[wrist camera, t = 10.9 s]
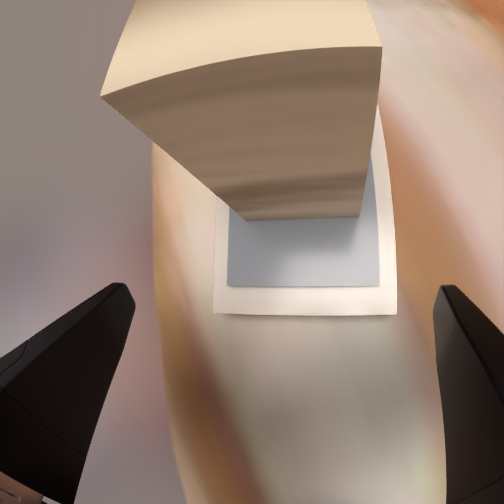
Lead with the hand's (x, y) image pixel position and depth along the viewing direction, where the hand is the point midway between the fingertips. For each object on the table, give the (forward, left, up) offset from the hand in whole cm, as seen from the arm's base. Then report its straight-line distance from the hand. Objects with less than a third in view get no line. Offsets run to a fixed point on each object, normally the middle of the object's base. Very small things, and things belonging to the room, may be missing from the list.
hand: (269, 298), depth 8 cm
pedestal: (+7, 0, -11) cm, 13 cm away
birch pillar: (+7, 0, -8) cm, 11 cm away
